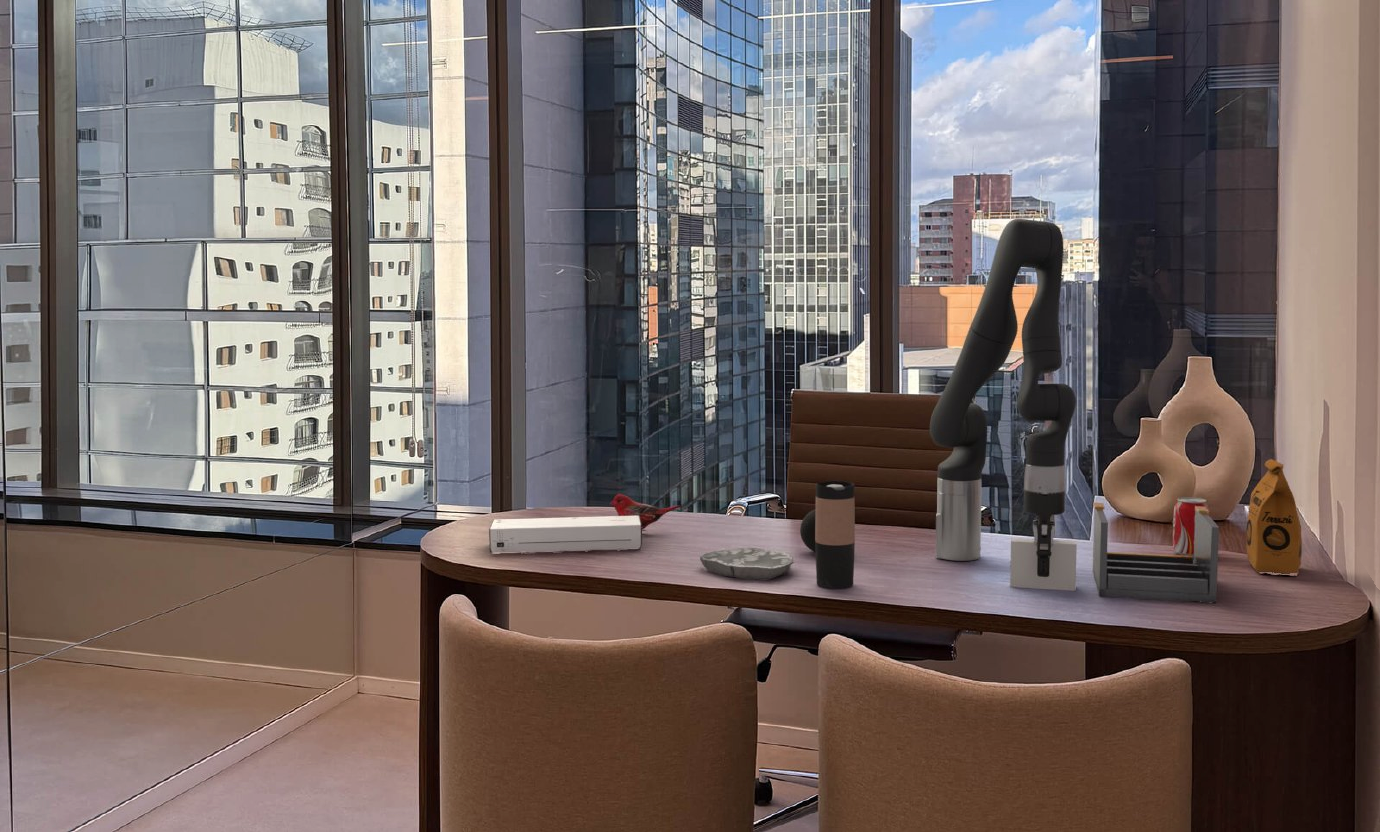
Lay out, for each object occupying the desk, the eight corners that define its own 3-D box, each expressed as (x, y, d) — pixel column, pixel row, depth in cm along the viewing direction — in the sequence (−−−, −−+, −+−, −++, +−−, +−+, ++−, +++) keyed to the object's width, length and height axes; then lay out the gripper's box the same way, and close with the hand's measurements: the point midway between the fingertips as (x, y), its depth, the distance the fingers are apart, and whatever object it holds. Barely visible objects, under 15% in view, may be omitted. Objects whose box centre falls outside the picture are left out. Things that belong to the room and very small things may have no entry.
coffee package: (1246, 574, 224) (1251, 465, 221) (1243, 561, 235) (1247, 457, 233) (1303, 579, 220) (1308, 468, 217) (1297, 565, 231) (1302, 459, 229)
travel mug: (828, 577, 225) (828, 479, 223) (861, 583, 220) (862, 483, 218) (807, 585, 219) (807, 484, 217) (841, 591, 214) (841, 488, 212)
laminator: (639, 540, 264) (639, 515, 263) (642, 552, 252) (641, 525, 251) (494, 545, 261) (493, 519, 260) (489, 557, 249) (488, 529, 248)
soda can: (1187, 559, 238) (1189, 503, 236) (1165, 552, 244) (1166, 497, 243) (1215, 556, 239) (1217, 501, 238) (1192, 549, 246) (1194, 495, 245)
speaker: (793, 555, 245) (793, 510, 244) (810, 546, 254) (810, 502, 253) (836, 559, 241) (836, 513, 240) (852, 550, 250) (852, 506, 248)
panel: (1010, 587, 217) (1010, 541, 216) (1010, 583, 219) (1011, 538, 218) (1075, 590, 213) (1076, 544, 212) (1074, 587, 216) (1076, 541, 215)
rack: (1097, 596, 209) (1099, 519, 207) (1091, 571, 228) (1092, 501, 226) (1218, 603, 203) (1221, 524, 201) (1201, 577, 222) (1203, 505, 221)
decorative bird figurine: (608, 534, 269) (608, 493, 268) (679, 529, 275) (678, 489, 274) (611, 537, 267) (610, 495, 266) (682, 531, 272) (682, 491, 271)
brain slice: (810, 567, 235) (810, 553, 235) (774, 585, 220) (774, 571, 220) (728, 557, 245) (728, 544, 245) (688, 574, 230) (688, 560, 230)
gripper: (1024, 481, 222) (1022, 561, 224) (1024, 493, 209) (1022, 579, 210) (1063, 482, 220) (1062, 563, 222) (1066, 494, 206) (1064, 581, 208)
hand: (1042, 571), depth 216 cm, fingers open, 8 cm apart
